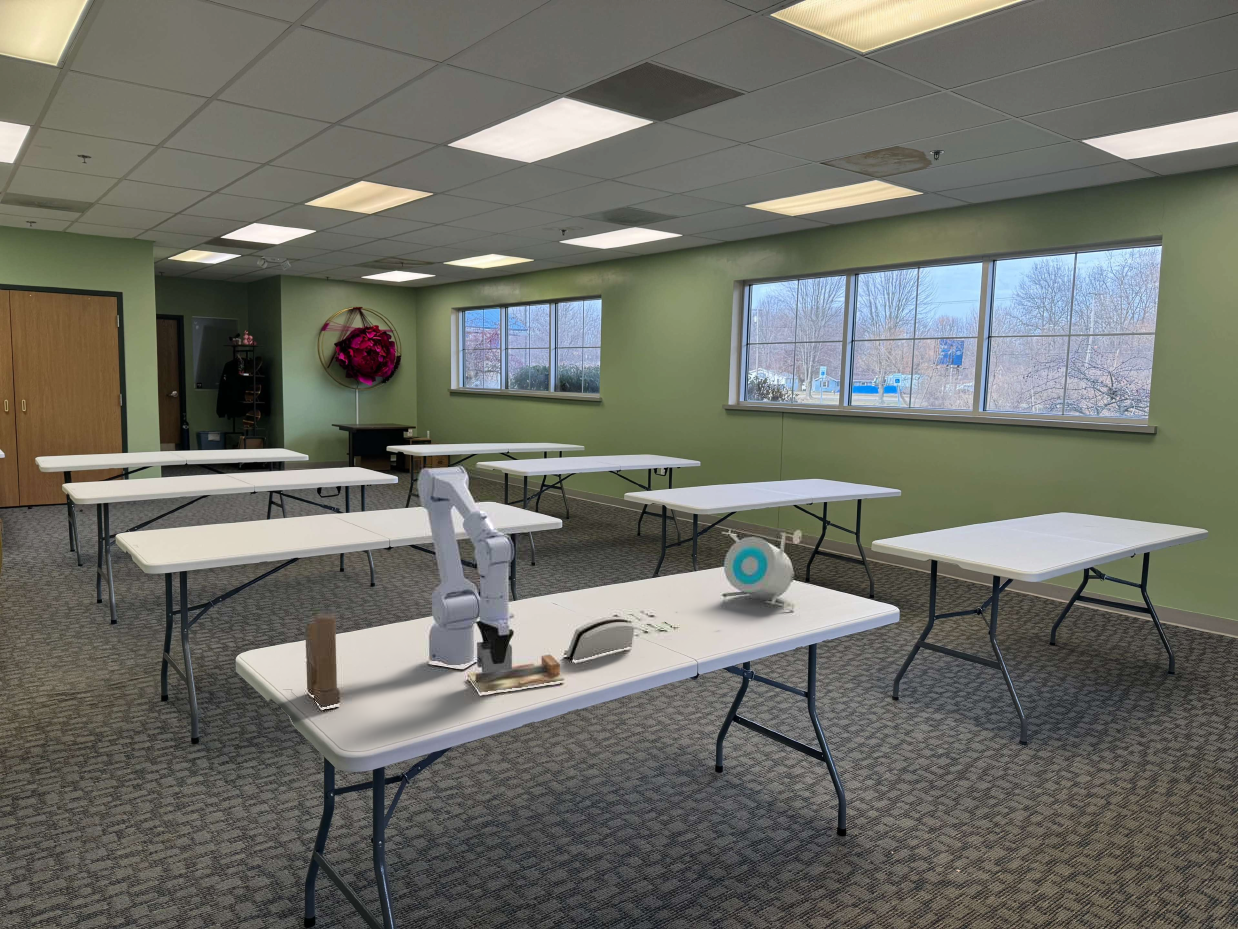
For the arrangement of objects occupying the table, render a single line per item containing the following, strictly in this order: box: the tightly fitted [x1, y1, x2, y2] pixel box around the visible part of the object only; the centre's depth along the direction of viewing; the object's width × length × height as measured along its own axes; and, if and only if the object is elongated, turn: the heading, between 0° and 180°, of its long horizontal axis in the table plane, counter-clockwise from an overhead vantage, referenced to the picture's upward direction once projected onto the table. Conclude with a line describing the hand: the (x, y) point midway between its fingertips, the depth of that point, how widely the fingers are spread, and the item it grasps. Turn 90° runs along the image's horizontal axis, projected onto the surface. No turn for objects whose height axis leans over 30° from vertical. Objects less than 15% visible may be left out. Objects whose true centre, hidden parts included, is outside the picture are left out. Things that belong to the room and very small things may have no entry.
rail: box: [467, 654, 565, 693], centre depth 168 cm, size 18×10×4 cm, turn 114°
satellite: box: [721, 528, 803, 612], centre depth 232 cm, size 23×20×25 cm
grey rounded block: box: [563, 616, 635, 660], centre depth 185 cm, size 17×5×10 cm, turn 129°
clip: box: [476, 641, 513, 674], centre depth 166 cm, size 6×5×5 cm
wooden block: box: [304, 613, 341, 708], centre depth 156 cm, size 4×11×18 cm, turn 35°
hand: (494, 658), depth 166 cm, fingers closed on clip, 5 cm apart
